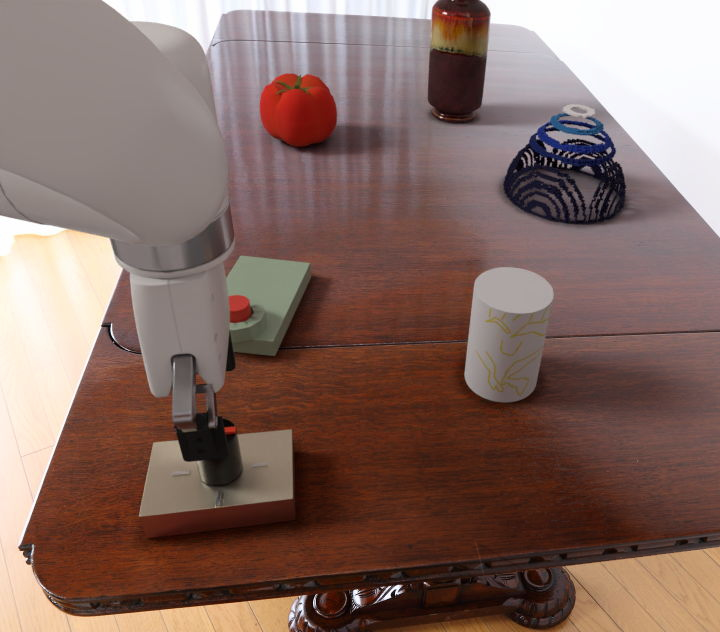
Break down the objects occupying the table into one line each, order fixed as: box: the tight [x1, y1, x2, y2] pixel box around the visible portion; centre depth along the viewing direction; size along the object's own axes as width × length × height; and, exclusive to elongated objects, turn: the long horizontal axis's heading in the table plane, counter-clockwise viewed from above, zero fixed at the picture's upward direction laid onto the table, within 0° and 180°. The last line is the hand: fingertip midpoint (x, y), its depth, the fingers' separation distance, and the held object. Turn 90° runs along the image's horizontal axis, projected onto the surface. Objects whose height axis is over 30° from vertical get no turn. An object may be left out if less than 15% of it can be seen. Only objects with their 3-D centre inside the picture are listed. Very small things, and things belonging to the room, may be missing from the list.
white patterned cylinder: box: [464, 266, 555, 403], centre depth 73 cm, size 8×8×12 cm
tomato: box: [259, 73, 338, 148], centre depth 119 cm, size 14×13×10 cm
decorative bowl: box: [502, 103, 627, 225], centre depth 110 cm, size 20×20×14 cm
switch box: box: [226, 255, 312, 357], centre depth 80 cm, size 17×9×4 cm, turn 177°
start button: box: [229, 295, 251, 323], centre depth 74 cm, size 3×3×2 cm
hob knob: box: [196, 417, 243, 485], centre depth 57 cm, size 4×4×5 cm
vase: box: [427, 0, 492, 124], centre depth 130 cm, size 11×11×26 cm
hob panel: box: [138, 428, 296, 540], centre depth 60 cm, size 12×8×3 cm, turn 103°
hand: (212, 410), depth 55 cm, fingers open, 9 cm apart
